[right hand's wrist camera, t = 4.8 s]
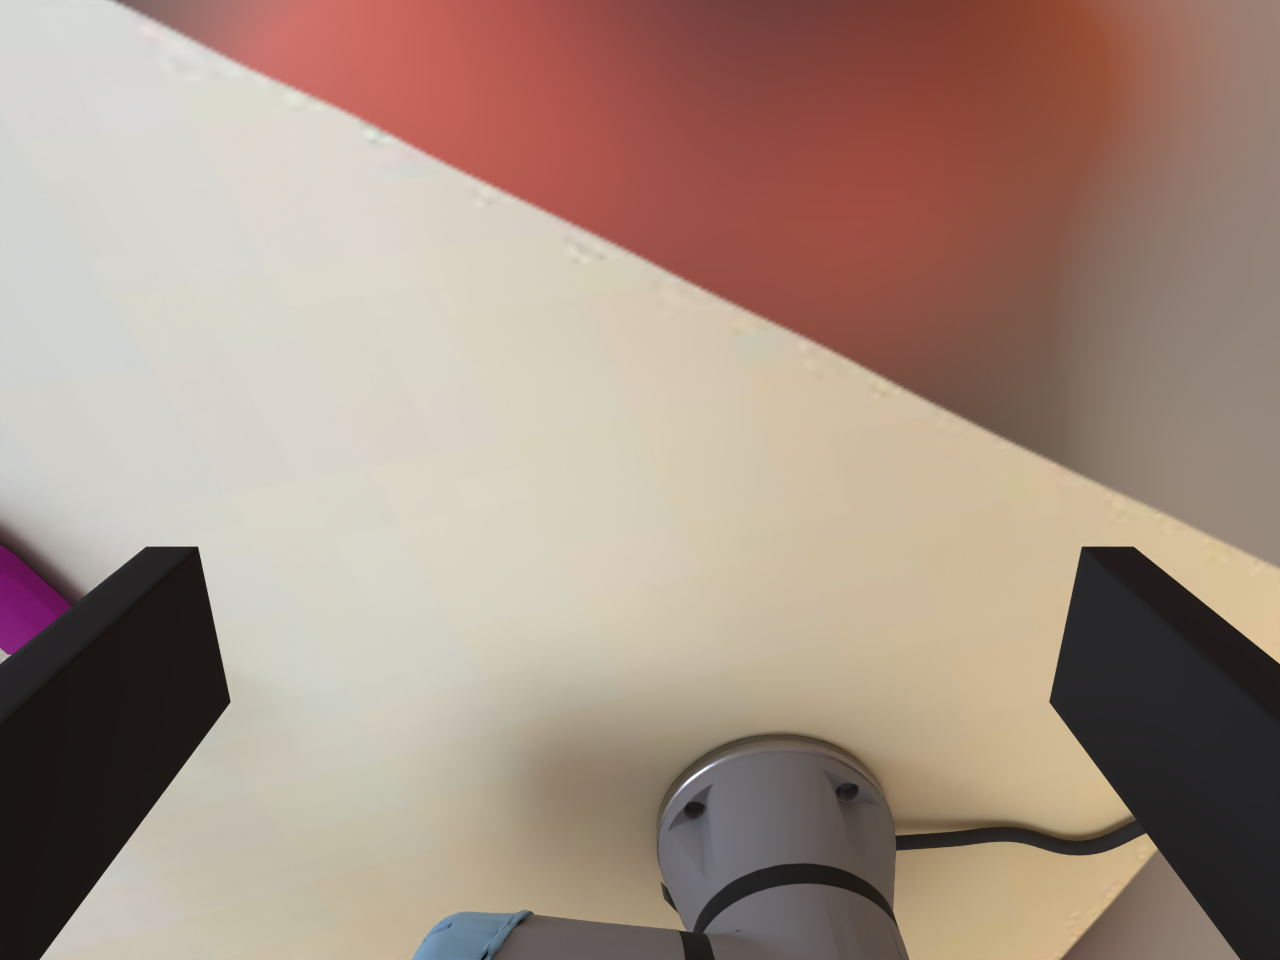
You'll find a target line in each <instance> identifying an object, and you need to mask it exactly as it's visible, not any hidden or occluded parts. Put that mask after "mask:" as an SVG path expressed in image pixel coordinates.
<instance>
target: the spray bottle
mask: <svg viewBox="0 0 1280 960" xmlns="http://www.w3.org/2000/svg"><path fill="white" fill-rule="evenodd" d="M71 607H72V606H71V605H70V604H69V603H68V602H67V601H66V600H65V599H64V598H63V597H62V596H60V595H59V594H58V593H57V592H56V591H55V590H54V589H52V588H51V587H50V586H49V585H48V584H47V583H46V582H45V581H44V580H42V579H41V578H40V577H39V576H38V575H37V574H36V573H35V572H34V571H32V570H31V569H30V568H29V567H28V566H27V565H26V564H25V563H24V562H23V561H22V560H21V559H20V558H18V557H17V556H16V555H15V554H13V553H12V552H10V551H9V550H7V549H6V548H5V547H3V546H2V545H0V648H1V649H2V650H3V651H5V652H6V653H7V654H10V655H12V654H13V653H15V652H16V651H17V650H18V649H20V648H21V647H22V646H23V645H25V644H26V643H27V642H28V641H30V640H31V639H32V638H33V637H35V636H36V635H37V634H38V633H40V632H41V631H42V630H43V629H45V628H46V627H47V626H48V625H50V624H51V623H52V622H53V621H55V620H56V619H57V618H58V617H60V616H61V615H62V614H63V613H65V612H66V611H67V610H68V609H69V608H71Z"/></svg>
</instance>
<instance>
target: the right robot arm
mask: <svg viewBox="0 0 1280 960" xmlns="http://www.w3.org/2000/svg"><path fill="white" fill-rule="evenodd" d="M230 702H231V701H230V696H229V692H228V687H227V682H226V677H225V673H224V668H223V663H222V658H221V654H220V649H219V644H218V639H217V635H216V630H215V625H214V620H213V616H212V611H211V606H210V601H209V597H208V592H207V587H206V582H205V578H204V573H203V568H202V563H201V558H200V554H199V549H198V547H145V548H144V549H143V550H142V551H140V552H139V553H138V554H137V555H135V556H134V557H133V558H132V559H130V560H129V561H128V562H127V563H126V564H124V565H123V566H122V567H121V568H119V569H118V570H117V571H116V572H114V573H113V574H112V575H111V576H109V577H108V578H107V579H106V580H104V581H103V582H102V583H101V584H99V585H98V586H97V587H96V588H94V589H93V590H92V591H91V592H89V593H88V594H87V595H86V596H84V597H83V598H82V599H81V600H79V601H78V602H77V603H76V604H74V605H73V606H72V607H71V608H69V609H68V610H67V611H66V612H65V613H63V614H62V615H61V616H60V617H58V618H57V619H56V620H55V621H53V622H52V623H51V624H50V625H48V626H47V627H46V628H45V629H43V630H42V631H41V632H40V633H38V634H37V635H36V636H35V637H33V638H32V639H31V640H30V641H28V642H27V643H26V644H25V645H23V646H22V647H21V648H20V649H18V650H17V651H16V652H15V653H13V654H12V655H11V656H10V657H8V658H7V659H6V660H5V661H3V662H2V663H1V664H0V960H40V958H41V957H42V956H43V954H44V953H45V952H46V950H47V949H48V947H49V946H50V945H51V943H52V942H53V941H54V939H55V938H56V937H57V935H58V934H59V933H60V931H61V930H62V929H63V927H64V926H65V925H66V923H67V922H68V921H69V919H70V918H71V917H72V915H73V914H74V912H75V911H76V910H77V908H78V907H79V906H80V904H81V903H82V902H83V900H84V899H85V898H86V896H87V895H88V894H89V892H90V891H91V890H92V888H93V887H94V886H95V884H96V883H97V881H98V880H99V879H100V877H101V876H102V875H103V873H104V872H105V871H106V869H107V868H108V867H109V865H110V864H111V863H112V861H113V860H114V859H115V857H116V856H117V855H118V853H119V852H120V850H121V849H122V848H123V846H124V845H125V844H126V842H127V841H128V840H129V838H130V837H131V836H132V834H133V833H134V832H135V830H136V829H137V828H138V826H139V825H140V824H141V822H142V821H143V819H144V818H145V817H146V815H147V814H148V813H149V811H150V810H151V809H152V807H153V806H154V805H155V803H156V802H157V801H158V799H159V798H160V797H161V795H162V794H163V793H164V791H165V790H166V788H167V787H168V786H169V784H170V783H171V782H172V780H173V779H174V778H175V776H176V775H177V774H178V772H179V771H180V770H181V768H182V767H183V766H184V764H185V763H186V762H187V760H188V759H189V757H190V756H191V755H192V753H193V752H194V751H195V749H196V748H197V747H198V745H199V744H200V743H201V741H202V740H203V739H204V737H205V736H206V735H207V733H208V732H209V731H210V729H211V728H212V726H213V725H214V724H215V722H216V721H217V720H218V718H219V717H220V716H221V714H222V713H223V712H224V710H225V709H226V708H227V706H228V705H229V704H230ZM1049 702H1050V704H1051V705H1052V706H1053V708H1054V709H1055V710H1056V712H1057V713H1058V714H1059V716H1060V717H1061V718H1062V720H1063V721H1064V722H1065V724H1066V725H1067V726H1068V728H1069V729H1070V731H1071V732H1072V733H1073V735H1074V736H1075V737H1076V739H1077V740H1078V741H1079V743H1080V744H1081V745H1082V747H1083V748H1084V749H1085V751H1086V752H1087V753H1088V755H1089V756H1090V757H1091V759H1092V760H1093V762H1094V763H1095V764H1096V766H1097V767H1098V768H1099V770H1100V771H1101V772H1102V774H1103V775H1104V776H1105V778H1106V779H1107V780H1108V782H1109V783H1110V784H1111V786H1112V787H1113V788H1114V790H1115V791H1116V793H1117V794H1118V795H1119V797H1120V798H1121V799H1122V801H1123V802H1124V803H1125V805H1126V806H1127V807H1128V809H1129V810H1130V811H1131V813H1132V814H1133V815H1134V817H1135V818H1136V819H1137V820H1135V821H1133V822H1131V823H1129V824H1127V825H1125V826H1123V827H1121V828H1119V829H1117V830H1115V831H1113V832H1111V833H1109V834H1107V835H1104V836H1101V837H1098V838H1095V839H1091V840H1084V841H1068V840H1062V839H1057V838H1054V837H1050V836H1047V835H1044V834H1041V833H1038V832H1034V831H1030V830H1026V829H1020V828H1011V827H991V828H980V829H972V830H964V831H955V832H944V833H930V834H915V835H900V836H895V828H894V822H893V818H892V814H891V812H890V809H889V807H888V804H887V801H886V799H885V796H884V794H883V791H882V789H881V787H880V785H879V783H878V782H877V780H876V779H875V777H874V776H873V775H872V773H871V772H870V771H869V770H868V769H867V768H866V767H865V766H864V765H863V764H862V763H861V762H859V761H858V760H857V759H856V758H854V757H853V756H851V755H850V754H849V753H847V752H845V751H843V750H842V749H840V748H838V747H835V746H833V745H831V744H828V743H825V742H822V741H819V740H816V739H812V738H807V737H801V736H793V735H766V736H757V737H751V738H747V739H743V740H739V741H735V742H732V743H729V744H727V745H724V746H722V747H720V748H717V749H715V750H713V751H711V752H710V753H708V754H706V755H704V756H703V757H701V758H700V759H698V760H697V761H695V762H694V763H693V764H692V765H690V766H689V767H688V768H687V769H686V770H685V771H684V772H683V773H682V774H681V775H680V776H679V777H678V778H677V779H676V781H675V782H674V783H673V784H672V786H671V787H670V789H669V790H668V792H667V794H666V796H665V798H664V800H663V802H662V805H661V808H660V811H659V815H658V821H657V854H658V861H659V865H660V869H661V872H662V876H663V879H664V882H665V884H666V886H667V887H666V886H665V885H664V884H663V883H662V882H661V886H662V890H663V895H664V899H665V900H666V901H667V902H668V903H669V904H670V905H671V906H672V907H673V908H674V909H675V910H676V911H677V912H678V913H679V915H680V918H681V920H682V922H683V924H684V927H685V929H686V931H687V932H685V931H679V930H672V929H662V928H652V927H641V926H631V925H621V924H610V923H600V922H591V921H582V920H574V919H566V918H557V917H549V916H540V915H534V913H532V912H531V911H527V910H523V911H520V912H518V913H516V914H509V913H481V912H460V913H456V914H453V915H451V916H448V917H446V918H445V919H443V920H442V921H440V922H439V923H438V924H437V925H436V926H435V927H433V929H432V930H431V931H430V932H429V933H428V935H427V936H426V937H425V939H424V940H423V942H422V944H421V945H420V946H419V948H418V950H417V952H416V953H415V955H414V957H413V959H412V960H909V957H908V954H907V951H906V948H905V945H904V942H903V940H902V937H901V934H900V932H899V929H898V926H897V922H896V919H895V916H894V913H893V901H894V880H895V858H896V851H897V850H911V849H926V848H940V847H953V846H963V845H971V844H979V843H987V842H1018V843H1024V844H1028V845H1032V846H1035V847H1038V848H1041V849H1045V850H1048V851H1051V852H1055V853H1060V854H1066V855H1091V854H1098V853H1102V852H1105V851H1108V850H1111V849H1114V848H1116V847H1119V846H1121V845H1123V844H1125V843H1127V842H1129V841H1131V840H1133V839H1135V838H1137V837H1139V836H1141V835H1143V834H1145V833H1147V834H1148V836H1149V837H1150V838H1151V840H1152V841H1153V842H1154V844H1155V845H1156V846H1157V848H1158V849H1159V850H1160V852H1161V853H1162V855H1163V856H1164V857H1165V859H1166V860H1167V861H1168V863H1169V864H1170V865H1171V867H1172V868H1173V869H1174V871H1175V872H1176V873H1177V875H1178V876H1179V877H1180V879H1181V880H1182V881H1183V883H1184V884H1185V886H1186V887H1187V888H1188V890H1189V891H1190V892H1191V894H1192V895H1193V896H1194V898H1195V899H1196V900H1197V902H1198V903H1199V904H1200V906H1201V907H1202V908H1203V910H1204V911H1205V912H1206V914H1207V915H1208V917H1209V918H1210V919H1211V921H1212V922H1213V923H1214V925H1215V926H1216V927H1217V929H1218V930H1219V931H1220V933H1221V934H1222V935H1223V937H1224V938H1225V939H1226V941H1227V942H1228V943H1229V945H1230V946H1231V947H1232V949H1233V950H1234V952H1235V953H1236V954H1237V955H1238V957H1239V958H1240V960H1280V664H1279V663H1278V662H1277V661H1275V660H1274V659H1273V658H1272V657H1270V656H1269V655H1268V654H1267V653H1265V652H1264V651H1263V650H1262V649H1260V648H1259V647H1258V646H1257V645H1255V644H1254V643H1253V642H1252V641H1250V640H1249V639H1248V638H1247V637H1245V636H1244V635H1243V634H1242V633H1240V632H1239V631H1238V630H1237V629H1235V628H1234V627H1233V626H1232V625H1230V624H1229V623H1228V622H1227V621H1225V620H1224V619H1223V618H1222V617H1220V616H1219V615H1218V614H1217V613H1215V612H1214V611H1213V610H1212V609H1211V608H1209V607H1208V606H1207V605H1206V604H1204V603H1203V602H1202V601H1201V600H1199V599H1198V598H1197V597H1196V596H1194V595H1193V594H1192V593H1191V592H1189V591H1188V590H1187V589H1186V588H1184V587H1183V586H1182V585H1181V584H1179V583H1178V582H1177V581H1176V580H1174V579H1173V578H1172V577H1171V576H1169V575H1168V574H1167V573H1166V572H1164V571H1163V570H1162V569H1161V568H1159V567H1158V566H1157V565H1156V564H1154V563H1153V562H1152V561H1151V560H1150V559H1148V558H1147V557H1146V556H1145V555H1143V554H1142V553H1141V552H1140V551H1138V550H1137V549H1136V548H1135V547H1082V549H1081V554H1080V558H1079V563H1078V568H1077V573H1076V578H1075V582H1074V587H1073V592H1072V597H1071V601H1070V606H1069V611H1068V616H1067V620H1066V625H1065V630H1064V635H1063V639H1062V644H1061V649H1060V654H1059V658H1058V663H1057V668H1056V673H1055V677H1054V682H1053V687H1052V692H1051V696H1050V701H1049Z"/></svg>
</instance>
